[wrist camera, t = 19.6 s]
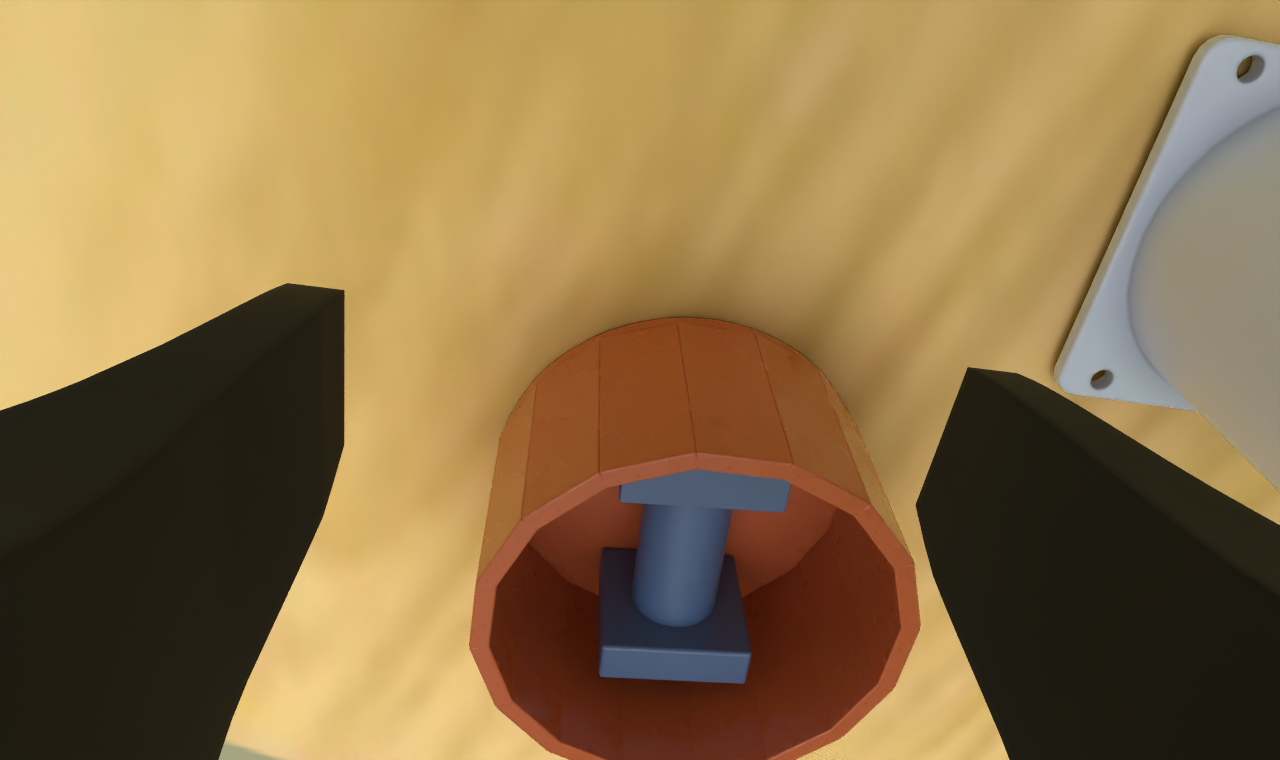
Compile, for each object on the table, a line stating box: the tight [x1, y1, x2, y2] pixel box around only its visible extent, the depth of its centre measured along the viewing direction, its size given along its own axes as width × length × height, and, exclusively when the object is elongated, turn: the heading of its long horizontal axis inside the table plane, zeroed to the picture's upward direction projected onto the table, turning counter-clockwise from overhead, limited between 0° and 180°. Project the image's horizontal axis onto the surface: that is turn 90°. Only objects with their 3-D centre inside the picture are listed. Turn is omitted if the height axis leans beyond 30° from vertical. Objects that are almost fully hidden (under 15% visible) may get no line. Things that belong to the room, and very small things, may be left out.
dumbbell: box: [598, 469, 791, 684], centre depth 22 cm, size 6×3×3 cm, turn 174°
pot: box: [469, 317, 921, 760], centre depth 21 cm, size 9×9×5 cm
